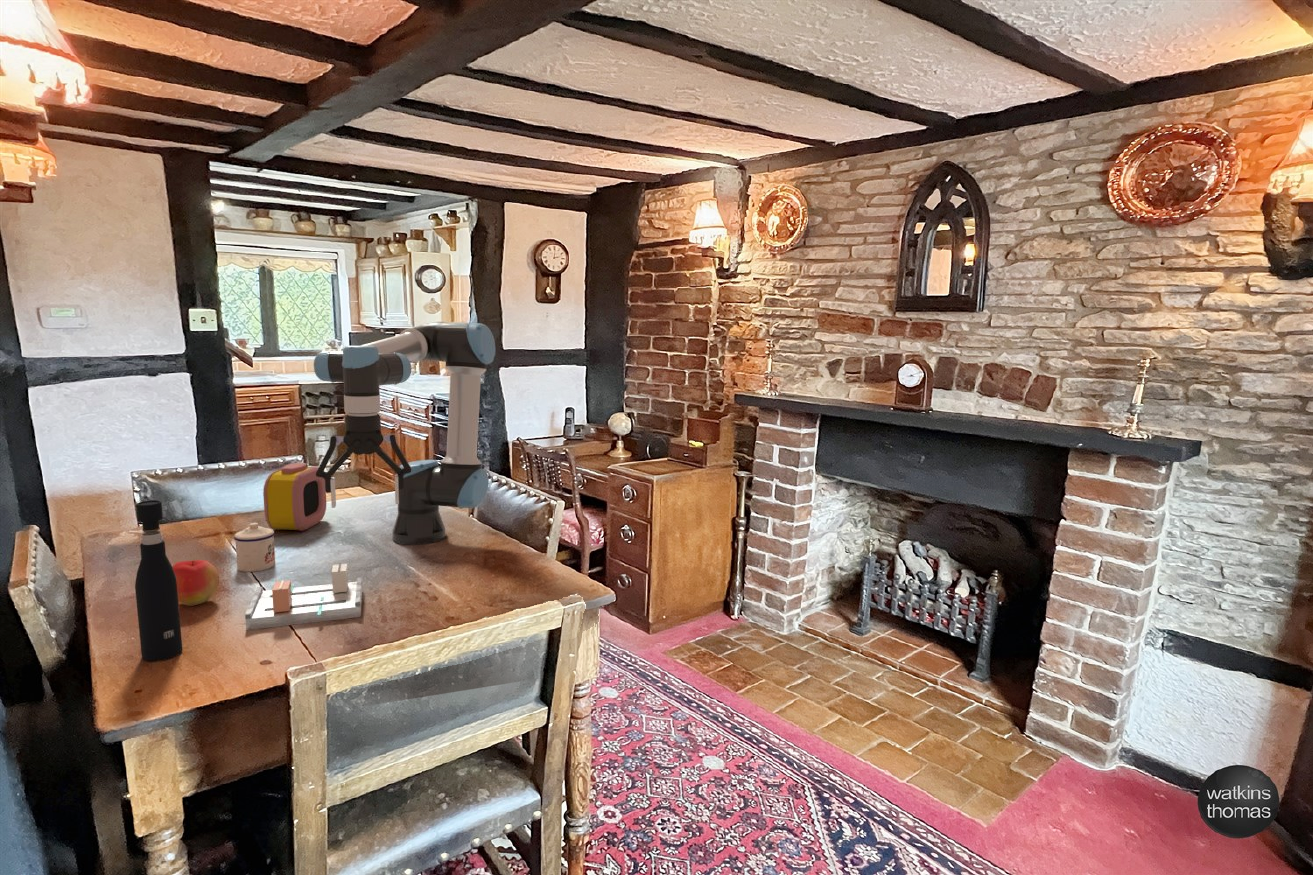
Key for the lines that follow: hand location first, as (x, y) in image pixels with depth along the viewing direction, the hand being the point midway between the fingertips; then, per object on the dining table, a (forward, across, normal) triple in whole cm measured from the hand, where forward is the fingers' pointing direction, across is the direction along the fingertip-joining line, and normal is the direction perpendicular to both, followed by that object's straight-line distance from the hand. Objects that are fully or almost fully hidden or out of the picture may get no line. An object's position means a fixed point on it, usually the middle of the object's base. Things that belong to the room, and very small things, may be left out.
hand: (365, 504), depth 162 cm
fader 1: (+20, +17, +9) cm, 27 cm away
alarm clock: (+22, +22, -65) cm, 72 cm away
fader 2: (+19, +6, +1) cm, 20 cm away
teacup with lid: (+22, +28, -30) cm, 47 cm away
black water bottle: (+22, +36, +20) cm, 47 cm away
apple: (+22, +37, -6) cm, 43 cm away
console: (+22, +13, +5) cm, 26 cm away
